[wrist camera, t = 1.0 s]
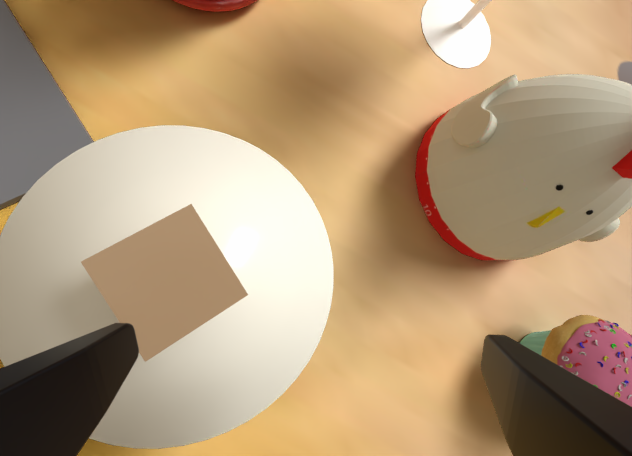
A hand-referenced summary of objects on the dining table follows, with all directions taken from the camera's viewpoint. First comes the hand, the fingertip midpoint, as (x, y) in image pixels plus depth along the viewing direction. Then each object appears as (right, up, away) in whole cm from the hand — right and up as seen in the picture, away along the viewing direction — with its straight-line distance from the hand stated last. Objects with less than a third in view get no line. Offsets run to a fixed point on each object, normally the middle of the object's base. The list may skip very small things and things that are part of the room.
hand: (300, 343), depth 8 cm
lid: (-6, +1, +8) cm, 10 cm away
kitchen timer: (+15, +7, +20) cm, 26 cm away
